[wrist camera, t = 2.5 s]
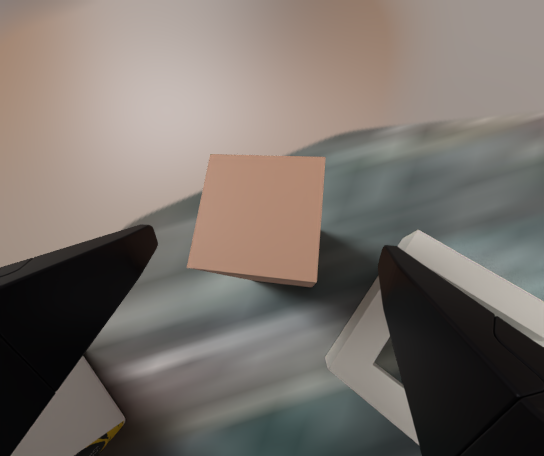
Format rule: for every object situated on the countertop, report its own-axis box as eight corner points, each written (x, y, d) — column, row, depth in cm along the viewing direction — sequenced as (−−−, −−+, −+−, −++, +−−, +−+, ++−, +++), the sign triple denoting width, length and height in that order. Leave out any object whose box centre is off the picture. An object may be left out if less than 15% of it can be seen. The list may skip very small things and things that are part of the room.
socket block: (478, 483, 13) (517, 526, 11) (324, 357, 16) (328, 369, 13) (557, 330, 14) (607, 338, 12) (402, 238, 17) (418, 229, 14)
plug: (311, 287, 17) (316, 282, 7) (251, 280, 18) (186, 267, 8) (316, 225, 18) (325, 152, 9) (259, 221, 19) (211, 149, 9)
